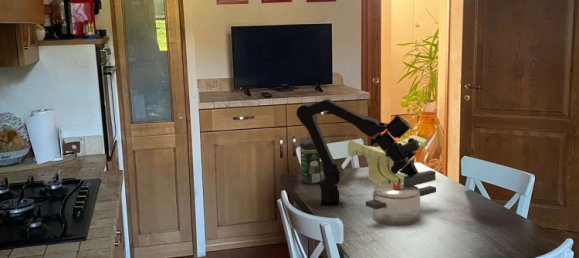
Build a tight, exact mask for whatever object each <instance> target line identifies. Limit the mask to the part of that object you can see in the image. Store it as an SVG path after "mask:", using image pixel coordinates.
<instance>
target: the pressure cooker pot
mask: <svg viewBox="0 0 579 258" xmlns="http://www.w3.org/2000/svg"><path fill="white" fill-rule="evenodd" d="M435 193H437V187H436V186H431V185H428V186H424V187H421V188H419V194H418V195H417V196H415V197H411V198H401V199H396V198H386V197H381V196H378V195H376V194H375V193H374V190H373V191H372V199H370V200H367V201H365V207H367V208H371V209H372V219H373V221H375V222H376V223H378V224H381V225H385V226H394V227H405V226H411V225H416V224H417V223H419V222H420V220H421V197H424V196H428V195H431V194H435Z"/></svg>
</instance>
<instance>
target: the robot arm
mask: <svg viewBox="0 0 579 258" xmlns="http://www.w3.org/2000/svg"><path fill="white" fill-rule="evenodd" d="M323 112H328V113H330V114H332V115H333V116H335V117H338V118H340V119H341V120H343V121H346V122H348V123H350V124H352V125H353V126H355V127H356V128H357V129H358V130H359V131H360V132H362V133H363V134H364V135H365V136H368V137H371V138H370V146H371V147H374V145H375V144H376V145H377V147H380V148H381V149H382V150H383V151H384V152H385V153H386V155H385V156H386V157H389V158H390V159H391V160H392V161H393V162H394V163H393V164H394V165H393V166H392V167H391V171H392V172H393V173H394V174H396V173H397V172H398V173H400V174H403V175H406V176H409V175H413V174H417V173H419V171H418V169H417V167H416V165H415V160H416V159H415V156H416V155H417V152H416V151H418V150H420V149H419V148H420V146H419V144H418V143H419V142H418V141H417V140H415V139H413V138H411V139H409V140H408V143H406V144H404V145H402V144H401V143H397V142H398V141H396V140H395V139H397V138H398V139H400V138H402V136H404V135H406V133H407V132H408V131H409V130H411V129H412V126H411V125H410V124H409V122H407V120H406V119H404V118H403V117H401V116H400V115H399V114H396V115H395V116H394V117H393V119H391V120H390V121H389V123H387V122H380V121H379V120H378V119H376V118H373V117H370V116H367V115H362V114H358V113H356V112H354V111H353V110H351V109H349V108H347V107H345V106H343V105H341V104H339V103H337V102H335V101H333V100H332V99H330V98H326V99H324V100H320V101H318V102H315V103H312V104H311V103H309V102H308V103H307V102H306V103H304V104H302V105H300V106H299V107H298V108H297V110H296V116H297V118H298V120H299V121H300V123H301V124H302V125H303V126H304V128H305V129H307V132H308V134H309V136H310V139H312V141H313V143H314V145H315V148H316V150H317V152H318V154H319V157H320V162H321V163H322V170H323V176H324V178H323V179H322V180H321V181H320V182H319V188H320V205H321V206H328V205H329V206H330V205H331V206H336V205H337V206H338V205H339V203H340V189H339V187H338V184H339V183H340V182H341V181H342V179H343V177H344V171H345V170H344V168H343V167H342V164H341V161H340V160H338V161H336V160H335V159H334V157H333V155H332V153H331V151H330V149H329V147H328V144H327V142H326V140H325V138H324V135H323V133H322V130H321V128H320V125H319V122H318V115H317V114H320V113H323ZM382 133H383V134H382ZM374 136H375V137H374Z"/></svg>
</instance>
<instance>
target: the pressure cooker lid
mask: <svg viewBox="0 0 579 258" xmlns="http://www.w3.org/2000/svg"><path fill="white" fill-rule="evenodd" d="M434 181H436V171H435V170H426V171H421V172H418V173H417V174H413V175H409V176H408V175H406V176H404V183H398V182H394V183H388V184H381V185H379V184H377V185H376V186H375V187H374V188H373V191H374V193H375V194H376V195H378V196H381V197H386V198H396V199H401V198H411V197H415V196H417V195H418V194H419V189H420V188H419V187H418V185H422V184H427V183H429V182H434Z"/></svg>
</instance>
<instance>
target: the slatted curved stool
mask: <svg viewBox="0 0 579 258" xmlns="http://www.w3.org/2000/svg"><path fill="white" fill-rule="evenodd" d="M411 138H413V139H415V140H417V141H418V142H419V143H418V144H419V146H420V148H419V149H418V150H422V147H424V148H425V147H428V139H427V138H423V137H421V136H418V135H415V134H412V135H409V136H407V138H403V139H401V141H396V142H397V143H401V144H402V145H404V144H406V143H408V140H409V139H411ZM385 155H386V153H385V152H384V151H383V150H382V149H381V148H380V147H379V146H371V145H365V144H362V143H359V142H356V141H354V140H352V139H349V140H348V143H347V156H349V157H350V158H352V157H355V156H365V159H366V162H367V166H368V172H367V174H368V175H367V177H368V179H369V178H371V179H372V180H371V179H370V180H371V181H373V180H374V181H375V183H376V182H377V183H376V184H377V185H379V184H380V185H381V184H388V183H394V182H398V183H401V184H404V177H405V176H404V175H402V174H401V173H400V172H399V171H398V172H397V173H396V174H394V173H393V172H392V171H391V167H392V166H393V165H394V164H393V163H394V162H393V161H392V160H391V159H390V158H389V157H386V156H385ZM374 181H373V182H374Z"/></svg>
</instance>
